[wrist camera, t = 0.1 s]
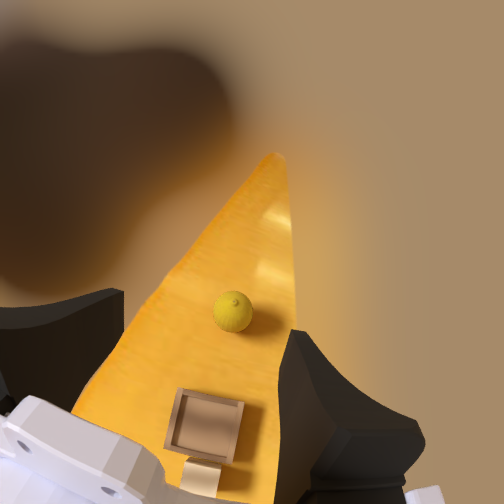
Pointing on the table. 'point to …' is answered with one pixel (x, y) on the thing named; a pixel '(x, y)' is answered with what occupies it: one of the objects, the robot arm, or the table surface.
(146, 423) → the table surface
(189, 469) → the block
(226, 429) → the tray
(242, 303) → the lemon
